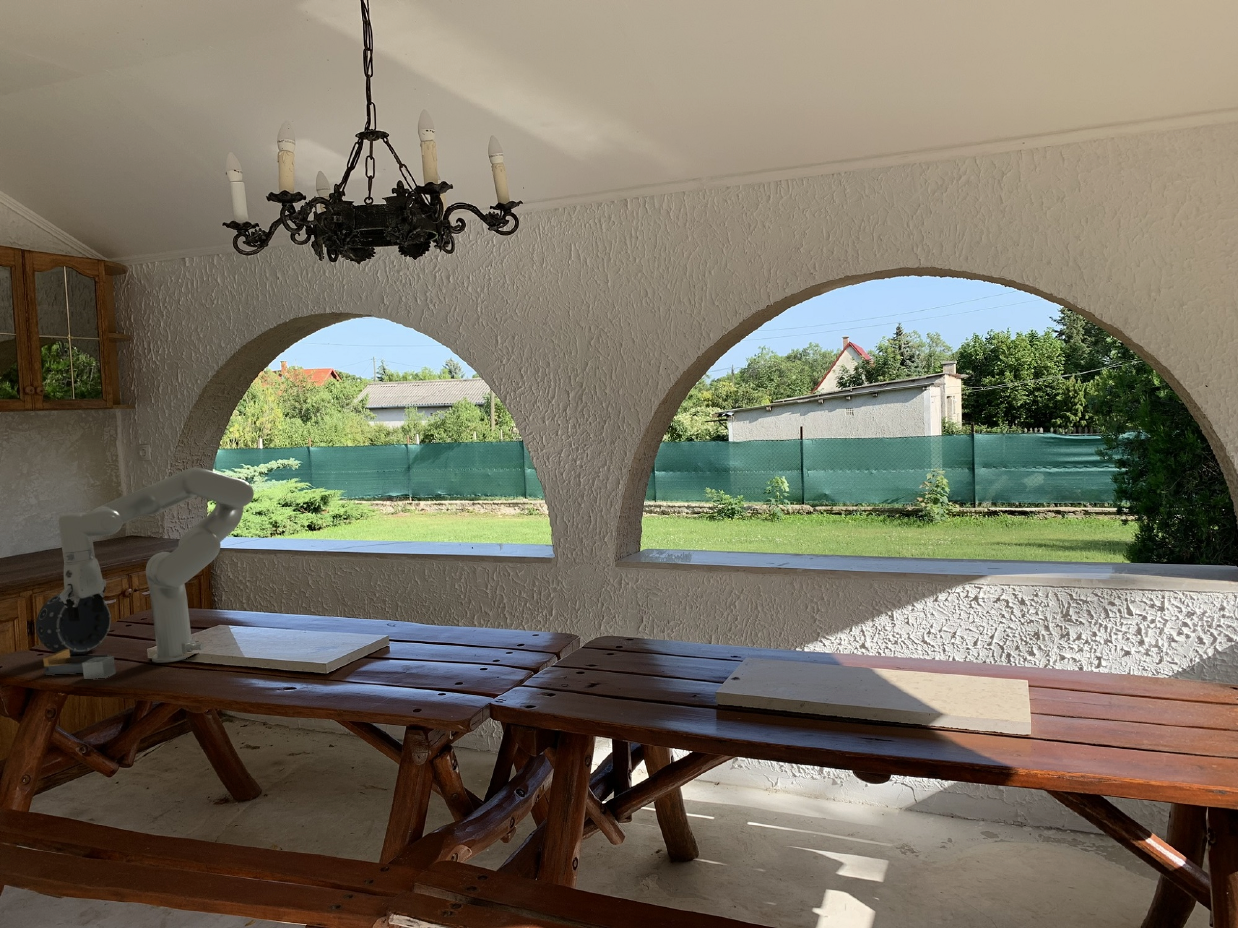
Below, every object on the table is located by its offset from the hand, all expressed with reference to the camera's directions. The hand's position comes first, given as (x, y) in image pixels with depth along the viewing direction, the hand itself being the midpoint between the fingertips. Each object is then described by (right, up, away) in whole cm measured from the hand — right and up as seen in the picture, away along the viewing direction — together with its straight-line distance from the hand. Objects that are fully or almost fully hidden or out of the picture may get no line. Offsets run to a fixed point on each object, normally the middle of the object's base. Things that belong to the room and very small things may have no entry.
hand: (87, 616), depth 254 cm
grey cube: (+4, -17, 0) cm, 18 cm away
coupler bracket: (-8, -17, +9) cm, 21 cm away
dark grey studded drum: (-19, -17, +28) cm, 38 cm away
